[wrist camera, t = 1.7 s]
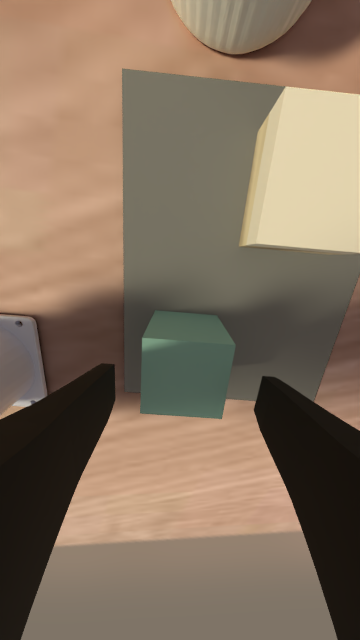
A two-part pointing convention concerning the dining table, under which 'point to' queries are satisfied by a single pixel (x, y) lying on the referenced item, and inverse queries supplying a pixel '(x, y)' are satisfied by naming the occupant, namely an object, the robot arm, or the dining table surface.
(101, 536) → the dining table surface
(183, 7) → the ramekin
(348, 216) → the tower top
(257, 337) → the mat
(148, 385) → the block
